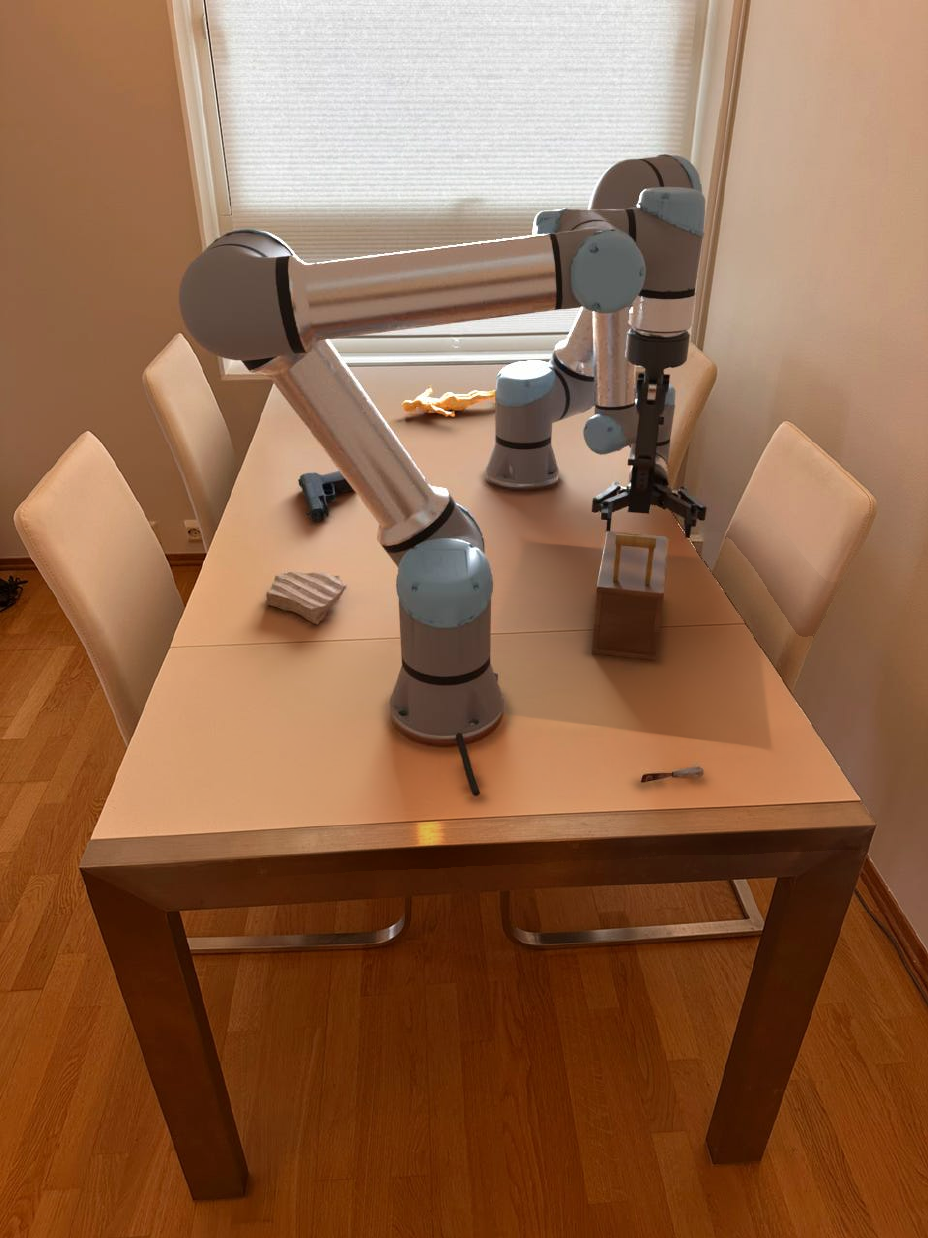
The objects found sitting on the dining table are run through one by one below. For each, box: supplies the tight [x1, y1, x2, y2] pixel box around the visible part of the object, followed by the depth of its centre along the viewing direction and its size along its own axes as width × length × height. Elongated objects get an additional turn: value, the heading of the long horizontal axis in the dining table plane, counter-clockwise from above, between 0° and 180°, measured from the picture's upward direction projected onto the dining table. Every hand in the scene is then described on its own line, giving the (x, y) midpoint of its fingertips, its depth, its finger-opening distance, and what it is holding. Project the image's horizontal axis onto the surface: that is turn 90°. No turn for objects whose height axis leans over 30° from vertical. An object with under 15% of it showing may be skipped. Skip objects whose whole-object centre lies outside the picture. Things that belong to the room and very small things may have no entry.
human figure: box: [402, 385, 495, 418], centre depth 225 cm, size 20×20×4 cm
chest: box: [591, 592, 664, 661], centre depth 136 cm, size 17×9×11 cm, turn 168°
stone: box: [265, 571, 347, 625], centre depth 145 cm, size 13×12×2 cm
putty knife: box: [640, 765, 705, 784], centre depth 109 cm, size 1×8×2 cm, turn 103°
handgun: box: [298, 470, 354, 522], centre depth 178 cm, size 3×18×12 cm
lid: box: [595, 530, 668, 600], centre depth 131 cm, size 18×9×8 cm, turn 168°
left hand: (641, 490), depth 120 cm, fingers open, 13 cm apart
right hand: (648, 528), depth 154 cm, fingers open, 13 cm apart
